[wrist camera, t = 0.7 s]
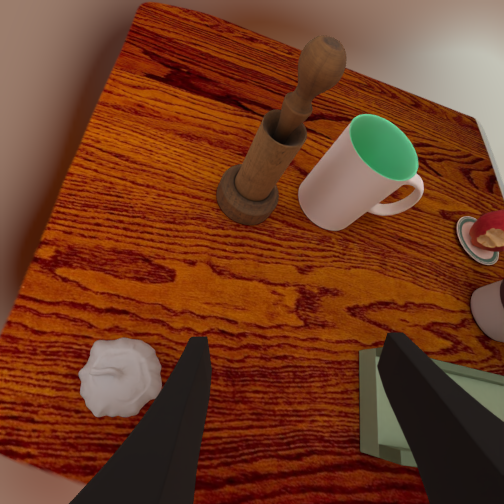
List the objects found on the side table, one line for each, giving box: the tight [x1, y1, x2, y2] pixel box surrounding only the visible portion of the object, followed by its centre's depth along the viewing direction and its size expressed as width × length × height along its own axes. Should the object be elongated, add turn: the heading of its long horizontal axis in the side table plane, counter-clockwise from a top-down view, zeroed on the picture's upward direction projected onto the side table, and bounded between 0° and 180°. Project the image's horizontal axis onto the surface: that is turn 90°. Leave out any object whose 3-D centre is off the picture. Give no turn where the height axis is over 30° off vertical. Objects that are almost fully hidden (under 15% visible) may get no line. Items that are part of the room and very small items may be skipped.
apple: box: [457, 210, 504, 265], centre depth 42 cm, size 8×8×6 cm
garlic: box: [79, 338, 162, 417], centre depth 21 cm, size 6×5×5 cm
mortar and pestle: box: [217, 36, 346, 225], centre depth 26 cm, size 7×6×18 cm
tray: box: [359, 347, 504, 467], centre depth 30 cm, size 28×9×5 cm, turn 81°
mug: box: [298, 114, 424, 231], centre depth 33 cm, size 12×8×10 cm
